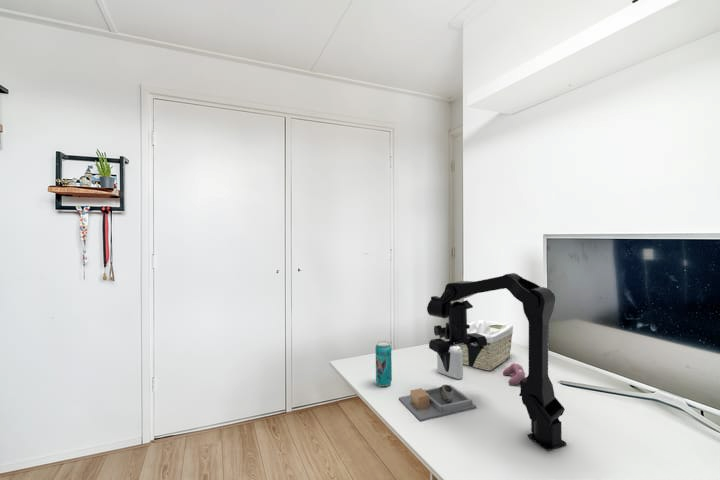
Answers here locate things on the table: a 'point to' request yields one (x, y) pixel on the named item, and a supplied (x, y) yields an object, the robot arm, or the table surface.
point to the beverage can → (383, 363)
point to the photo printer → (452, 363)
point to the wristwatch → (447, 391)
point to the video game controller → (514, 373)
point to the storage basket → (490, 344)
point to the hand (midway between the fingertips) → (458, 369)
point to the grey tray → (435, 403)
